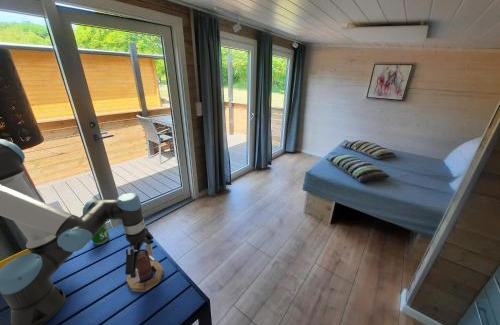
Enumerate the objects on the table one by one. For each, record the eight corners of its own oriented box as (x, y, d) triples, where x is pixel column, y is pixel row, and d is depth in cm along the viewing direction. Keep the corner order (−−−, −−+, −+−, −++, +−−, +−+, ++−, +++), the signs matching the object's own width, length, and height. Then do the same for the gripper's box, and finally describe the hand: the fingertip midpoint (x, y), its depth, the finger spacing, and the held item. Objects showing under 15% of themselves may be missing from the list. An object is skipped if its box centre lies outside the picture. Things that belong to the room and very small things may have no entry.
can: (147, 284, 93) (142, 260, 88) (135, 281, 94) (129, 258, 89) (156, 272, 99) (151, 250, 93) (143, 270, 100) (138, 247, 94)
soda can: (97, 247, 111) (91, 229, 107) (90, 241, 115) (84, 224, 110) (112, 239, 117) (107, 221, 113) (105, 233, 121) (100, 216, 116)
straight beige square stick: (154, 260, 105) (154, 259, 105) (153, 261, 105) (153, 260, 104) (143, 250, 110) (143, 249, 110) (142, 251, 110) (142, 250, 110)
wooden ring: (122, 291, 90) (121, 288, 89) (137, 264, 103) (137, 260, 102) (155, 291, 90) (154, 288, 89) (166, 264, 103) (166, 261, 102)
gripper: (128, 253, 74) (138, 294, 83) (156, 210, 97) (162, 246, 106) (106, 252, 74) (119, 293, 83) (140, 210, 97) (147, 245, 106)
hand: (143, 267), depth 94 cm, fingers open, 13 cm apart
